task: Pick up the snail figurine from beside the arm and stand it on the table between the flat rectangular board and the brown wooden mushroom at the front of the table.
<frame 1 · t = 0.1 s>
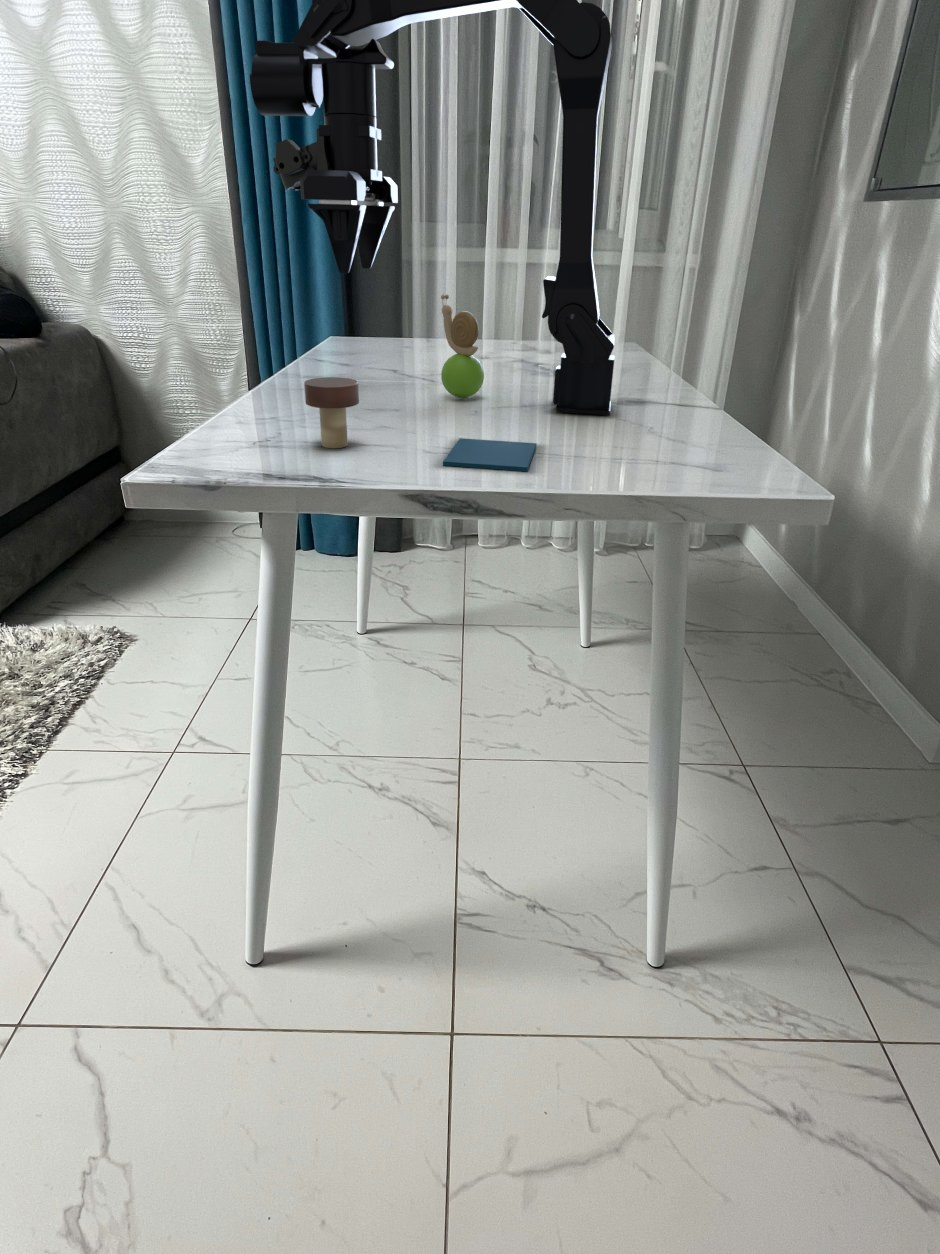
hand: (355, 270, 97), 15 cm above the table, tool pointing down, fingers open, 9 cm apart
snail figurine: (459, 398, 104), on the table
mushroom: (334, 445, 82), on the table
flat rectangular board: (491, 455, 79), on the table
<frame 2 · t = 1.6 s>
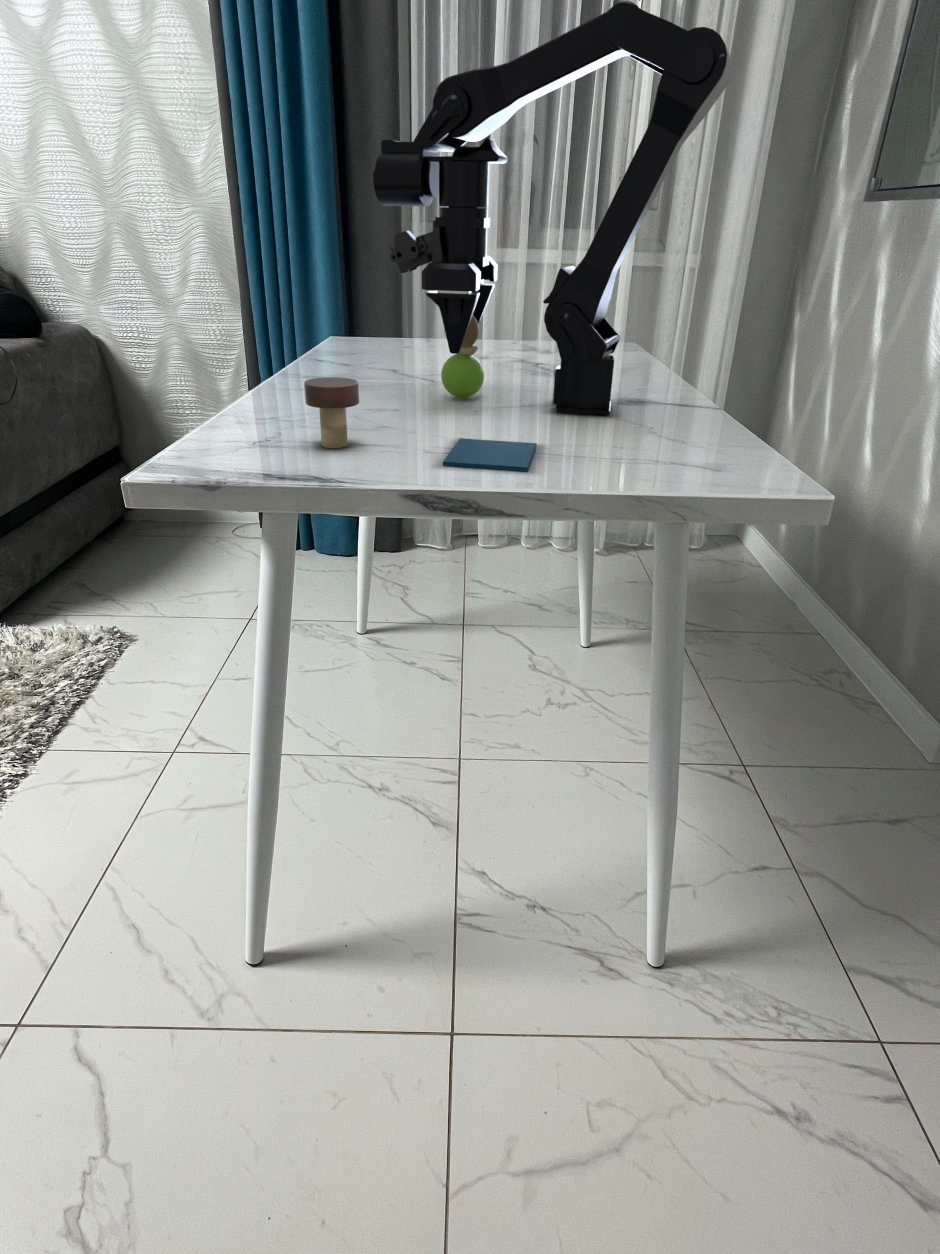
hand: (461, 347, 101), 6 cm above the table, tool pointing down, fingers open, 9 cm apart
nothing on the table moved.
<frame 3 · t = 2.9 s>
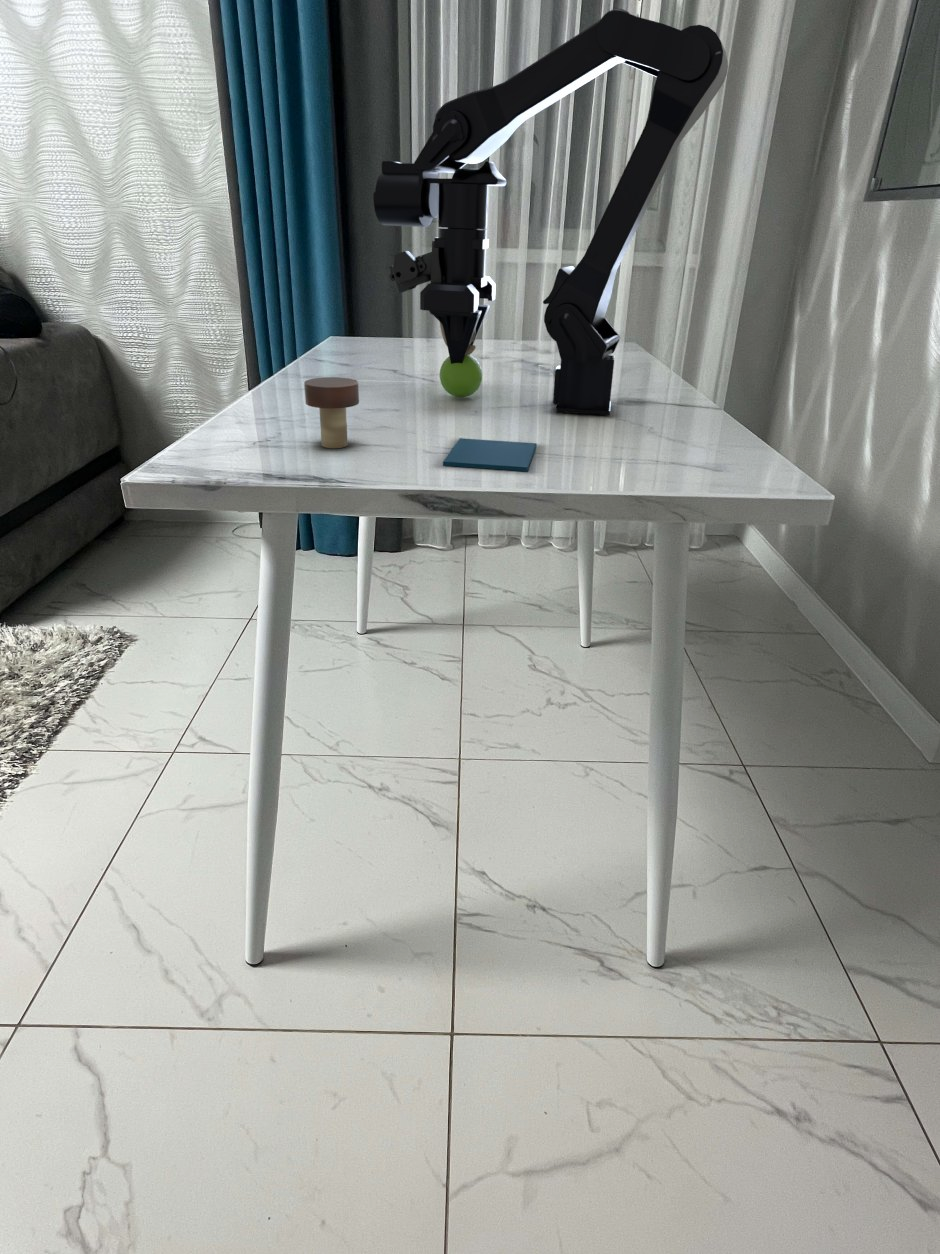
hand: (458, 366, 102), 4 cm above the table, tool pointing down, fingers closed on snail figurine, 3 cm apart
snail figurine: (458, 398, 104), on the table, touching gripper
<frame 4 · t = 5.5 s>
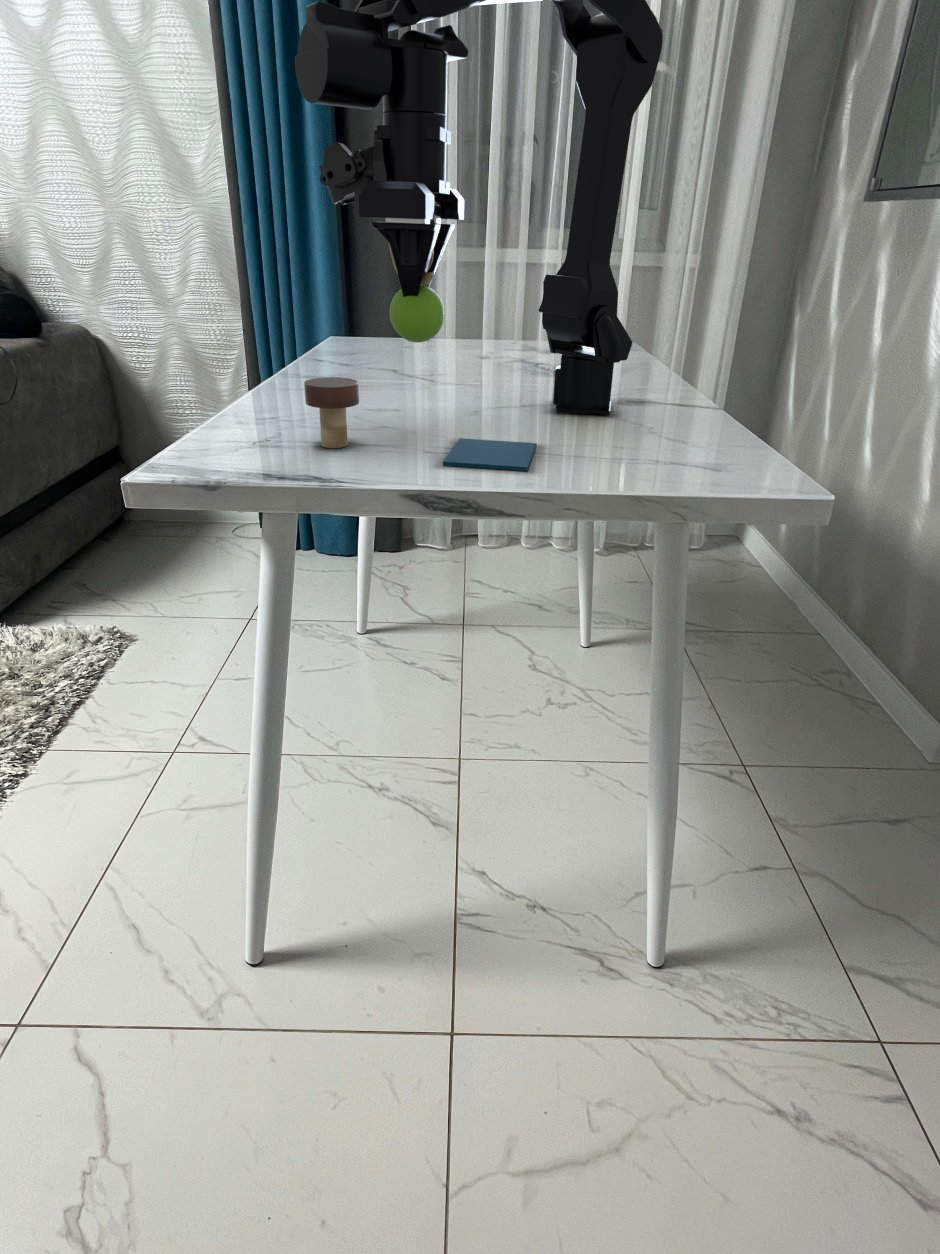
hand: (414, 301, 80), 13 cm above the table, tool pointing down, fingers closed on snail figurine, 3 cm apart
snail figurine: (414, 343, 82), point 9 cm above the table, touching gripper
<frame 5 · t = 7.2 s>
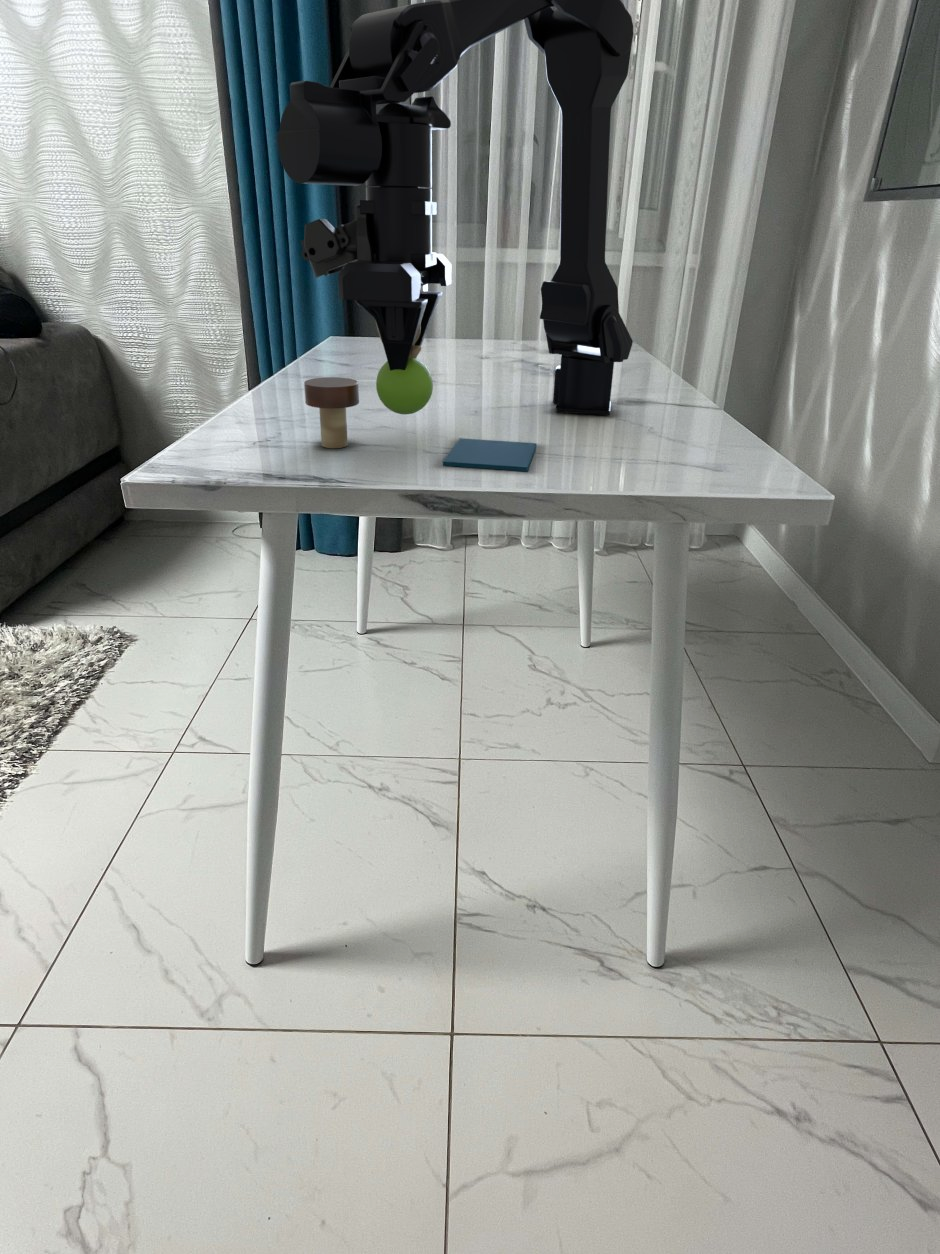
hand: (402, 373, 77), 7 cm above the table, tool pointing down, fingers closed on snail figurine, 3 cm apart
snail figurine: (402, 415, 79), point 3 cm above the table, touching gripper
when the fingers open (4 cm above the table, at t = 8.4 s): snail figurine stays where it is, on the table.
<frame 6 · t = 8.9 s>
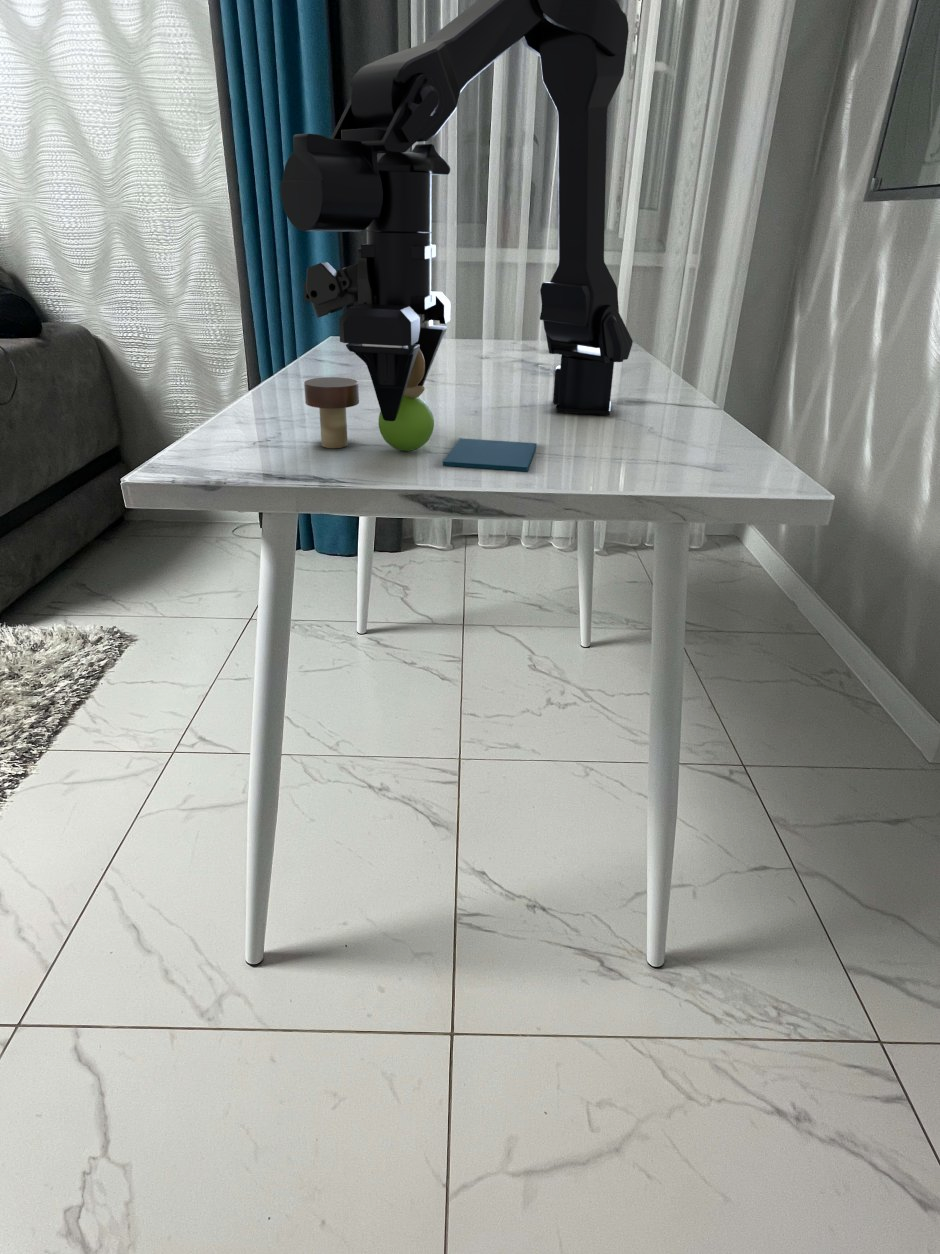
hand: (401, 410, 79), 4 cm above the table, tool pointing down, fingers open, 9 cm apart
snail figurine: (403, 451, 81), on the table
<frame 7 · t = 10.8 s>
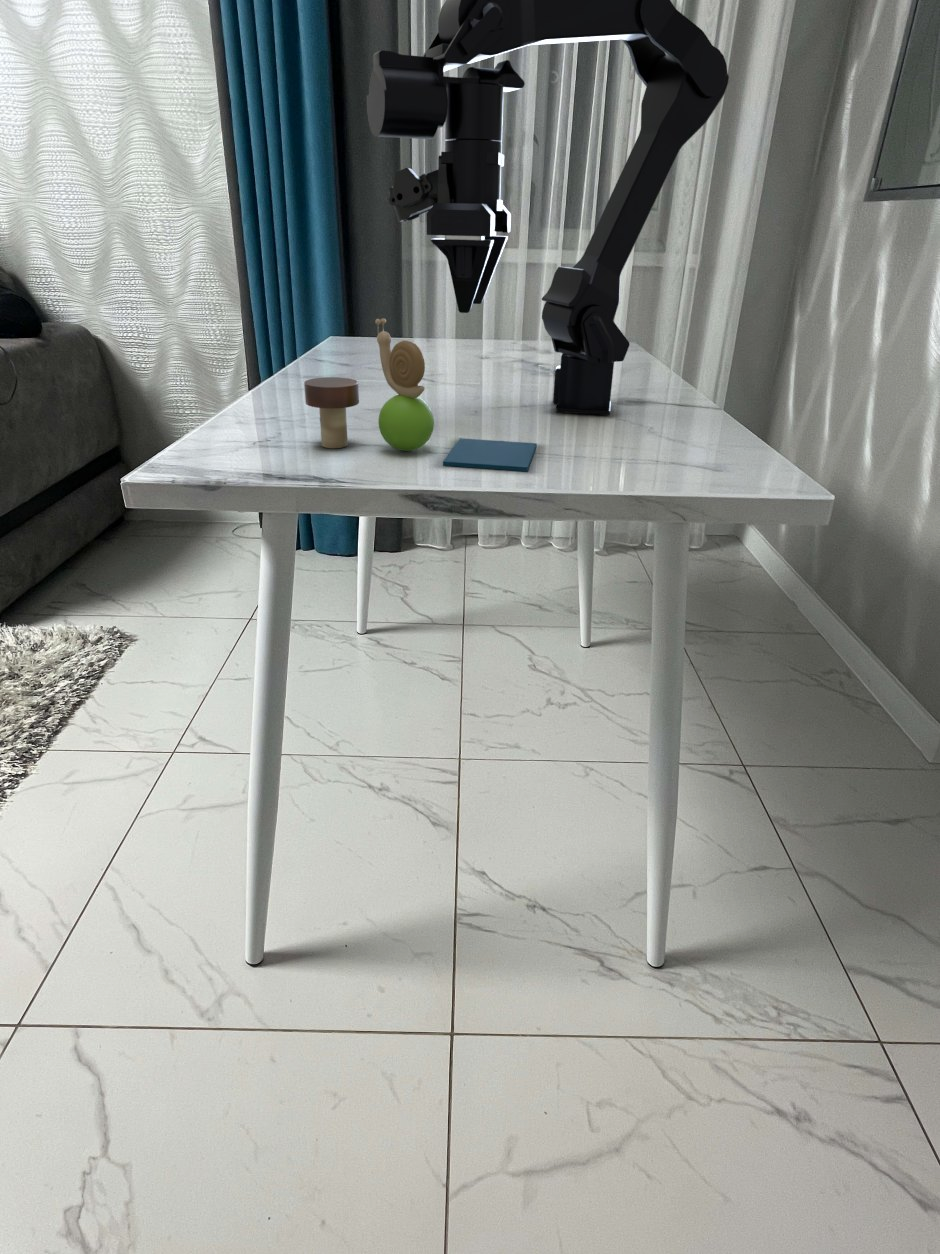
hand: (470, 308, 88), 12 cm above the table, tool pointing down, fingers open, 9 cm apart
nothing on the table moved.
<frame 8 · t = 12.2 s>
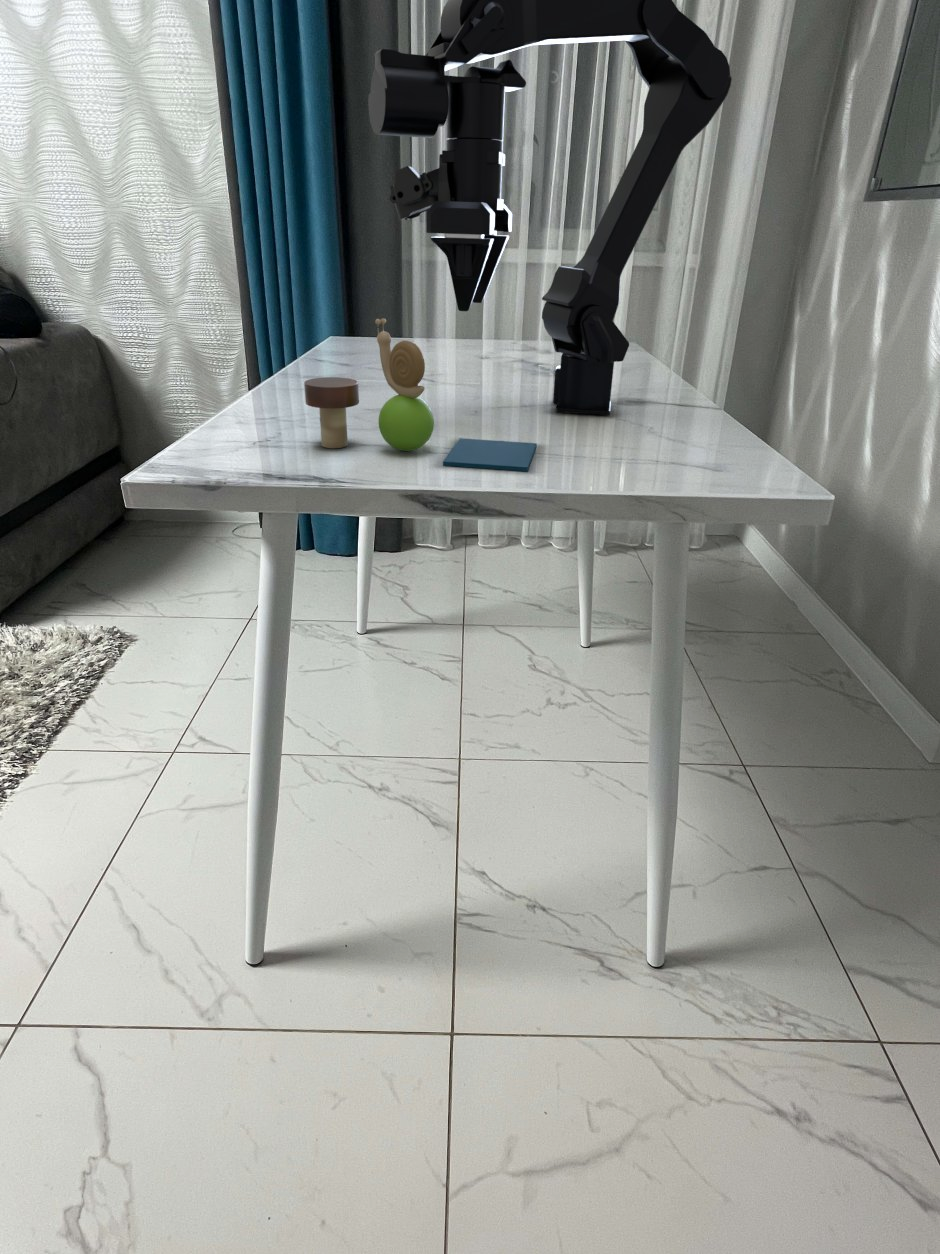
hand: (470, 306, 89), 12 cm above the table, tool pointing down, fingers open, 9 cm apart
nothing on the table moved.
at the end: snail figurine 0.3 cm from the target spot on the table beside the flat rectangular board, on the table; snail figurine tilted 0°; the gripper is holding nothing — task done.
